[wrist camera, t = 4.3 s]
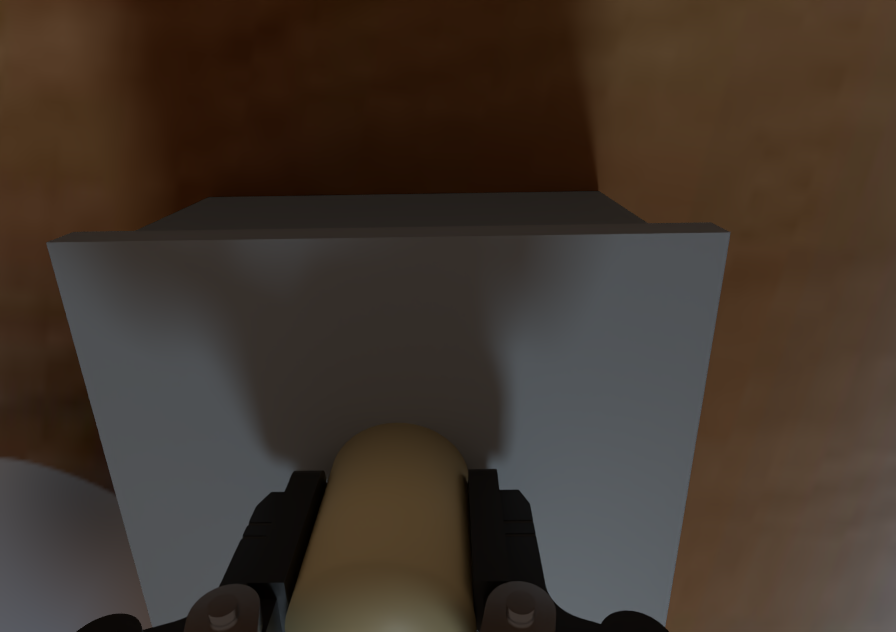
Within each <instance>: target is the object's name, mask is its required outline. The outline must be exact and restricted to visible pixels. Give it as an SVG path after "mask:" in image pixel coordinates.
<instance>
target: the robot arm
mask: <svg viewBox="0 0 896 632" xmlns="http://www.w3.org/2000/svg"><path fill="white" fill-rule="evenodd" d="M326 485H327V481H326V474H325V472H324V471H323V470H316V471H293V473H292V475H291V477H290V479H289V482H288V484H287V487H286V489H285V492H270V493H269V494H268V495H267V496H266V497H265V498H264V499H263V500H262V501H261V502H260V503H259V504H258V505H257V506H256V508H255V510H254V512H253V514H252V516H251V518H250V521H249V525H248V526H247V527H246V529H245V531H244V533H243V537H242V539H241V540H240V542H239V544H238V546H237V549H236V551H235V553H234V555H233V557H232V559H231V562H230V564H229V566H228V568H227V570H226V572H225V575H224V577H223V579H222V581H221V583H220V585H219V587H218V588H215V589H213V590H211V591H209V592H208V593H206V594H205V595H203V596H202V597H201V598H200V599H199V600H198V601H197V602H196V603H195V604H194V605H193V606H192V608H191V609H190V611H189V613H188V616H187V617H185V618H182V619H180V620H177V621H174V622H170V623H167V624H163V625H159V626H156V627H152V628H149V629H145V630H142V626H141V623H140V622H139V620H138V619H137V618H136V617H134V616H132V615H128V614H112V615H107V616H104V617H101V618H99V619H96V620H94V621H92V622H90V623H88V624H87V625H85V626H84V627H82V628H81V629H79V630H78V631H77V632H285V619H286V614H287V611H288V607H289V604H290V601H291V598H292V594H293V591H294V588H295V585H296V582H297V578H298V575H299V572H300V569H301V566H302V562H303V559H304V556H305V553H306V549H307V546H308V543H309V540H310V537H311V533H312V530H313V527H314V524H315V521H316V517H317V514H318V511H319V508H320V505H321V501H322V498H323V495H324V492H325V488H326ZM468 495H469V517H470V539H471V561H472V583H473V605H474V612H475V616H476V626H477V632H669V631H668V630H667V629H666V628H665V627H664V626H663V625H662V624H661V623H659V622H658V621H657V620H655V619H654V618H652V617H650V616H648V615H646V614H643V613H640V612H636V611H628V610H624V611H618V612H614V613H612V614H610V615H608V616H607V617H606V618H605V619H604V620H603V621H602V623H601V624H600V623H596V622H593V621H589V620H585V619H582V618H579V617H576V616H574V615H572V614H569V613H568V612H566V611H565V610H563V609H562V608H560V607H559V606H558V605H557V604H556V603H555V602H554V601H553V599H552V598H551V597H550V595H549V593H548V591H547V588H546V584H545V579H544V574H543V569H542V563H541V558H540V553H539V548H538V543H537V537H536V532H535V527H534V523H533V517H532V511H531V506H530V503H529V502H528V500H527V499H526V498H525V497H524V495H523V494H522V493H521V492H520V490H500V489H499V481H498V473H497V469H468Z"/></svg>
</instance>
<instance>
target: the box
mask: <svg viewBox="0 0 896 632" xmlns="http://www.w3.org/2000/svg"><path fill="white" fill-rule="evenodd" d="M580 224H647V223H646V222H645V221H643V220H642V219H640V218H639V217H637V216H636V215H634V214H633V213H631V212H630V211H628V210H627V209H625V208H624V207H622V206H621V205H619V204H618V203H616V202H615V201H613V200H612V199H610V198H609V197H607V196H606V195H604V194H603V193H601V192H600V191H575V192H511V193H448V194H384V195H321V196H258V197H208V198H206V199H204V200H202V201H199V202H197V203H195V204H193V205H191V206H188V207H186V208H184V209H182V210H180V211H178V212H175V213H173V214H171V215H169V216H167V217H165V218H162V219H160V220H158V221H156V222H154V223H151V224H149V225H147V226H145V227H143V228H141V229H138V230H136V231H176V230H243V229H310V228H378V227H445V226H512V225H580Z"/></svg>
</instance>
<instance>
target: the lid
mask: <svg viewBox="0 0 896 632" xmlns="http://www.w3.org/2000/svg"><path fill="white" fill-rule="evenodd" d="M729 238H730V232H729V231H727V230H725V229H723V228H721V227H719V226H717V225H715V224H713V223H647V224H580V225H512V226H445V227H378V228H310V229H243V230H176V231H108V232H73V233H70V234H67V235H65V236H62V237H59V238H57V239H54V240H52V241H49V242H46V243H47V247H48V250H49V254H50V258H51V261H52V265H53V268H54V272H55V276H56V279H57V283H58V287H59V290H60V294H61V297H62V301H63V305H64V308H65V312H66V316H67V319H68V323H69V326H70V330H71V334H72V337H73V341H74V345H75V348H76V352H77V355H78V359H79V363H80V366H81V370H82V374H83V377H84V381H85V384H86V388H87V392H88V395H89V399H90V402H91V406H92V410H93V413H94V417H95V421H96V424H97V428H98V431H99V435H100V439H101V442H102V446H103V450H104V453H105V457H106V460H107V464H108V468H109V471H110V475H111V479H112V482H113V486H114V489H115V493H116V497H117V500H118V504H119V508H120V511H121V515H122V518H123V522H124V526H125V529H126V533H127V537H128V540H129V543H130V547H131V551H132V555H133V558H134V562H135V565H136V569H137V573H138V576H139V580H140V584H141V587H142V591H143V594H144V598H145V602H146V605H147V609H148V612H149V616H150V620H151V623H152V627H156V626H159V625H163V624H167V623H170V622H174V621H177V620H180V619H182V618H185V617H187V616H188V613H189V611H190V609H191V608H192V606H193V605H194V604H195V603H196V602H197V601H198V600H199V599H200V598H201V597H202V596H203V595H205V594H206V593H208V592H209V591H211V590H213V589H215V588H218V587H219V585H220V583H221V581H222V579H223V577H224V575H225V572H226V570H227V568H228V566H229V564H230V562H231V559H232V557H233V555H234V553H235V551H236V549H237V546H238V544H239V542H240V540H241V539H242V537H243V533H244V531H245V529H246V527H247V526H248V525H249V521H250V518H251V516H252V514H253V512H254V510H255V508H256V506H257V505H258V504H259V503H260V502H261V501H262V500H263V499H264V498H265V497H266V496H267V495H268V494H269V493H270V492H285V489H286V487H287V484H288V482H289V479H290V477H291V475H292V473H293V471H316V470H323V471H324V472H325V474H326V481H327V485H326V488H325V492H324V495H323V498H322V501H321V505H320V508H319V511H318V514H317V517H316V521H315V524H314V527H313V530H312V533H311V537H310V540H309V543H308V546H307V549H306V553H305V556H304V559H303V562H302V566H301V569H300V572H299V575H298V578H297V582H296V585H295V588H294V591H293V594H292V598H291V601H290V604H289V607H288V611H287V614H286V619H285V632H477V626H476V616H475V612H474V605H473V583H472V561H471V539H470V517H469V495H468V469H497V473H498V481H499V489H500V490H520V492H521V493H522V494H523V495H524V497H525V498H526V499H527V500H528V502H529V503H530V506H531V511H532V517H533V523H534V527H535V532H536V537H537V543H538V548H539V553H540V558H541V563H542V569H543V574H544V579H545V584H546V588H547V591H548V593H549V595H550V597H551V598H552V599H553V601H554V602H555V603H556V604H557V605H558V606H559V607H560V608H562V609H563V610H565V611H566V612H568V613H569V614H572V615H574V616H576V617H579V618H582V619H585V620H589V621H593V622H596V623H600V624H601V623H602V621H603V620H604V619H605V618H606V617H607V616H608V615H610V614H612V613H614V612H618V611H624V610H628V611H636V612H640V613H643V614H646V615H648V616H650V617H652V618H654V619H655V620H657V621H658V622H659V623H661V624H662V625H663V626H664V627H665V624H666V618H667V612H668V606H669V600H670V594H671V588H672V582H673V576H674V570H675V564H676V558H677V552H678V546H679V540H680V534H681V528H682V522H683V516H684V510H685V504H686V498H687V492H688V485H689V479H690V473H691V467H692V461H693V455H694V449H695V443H696V437H697V431H698V425H699V419H700V413H701V407H702V401H703V395H704V389H705V383H706V377H707V371H708V365H709V359H710V353H711V346H712V340H713V334H714V328H715V322H716V316H717V310H718V304H719V298H720V292H721V286H722V280H723V274H724V268H725V262H726V256H727V250H728V244H729Z"/></svg>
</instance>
